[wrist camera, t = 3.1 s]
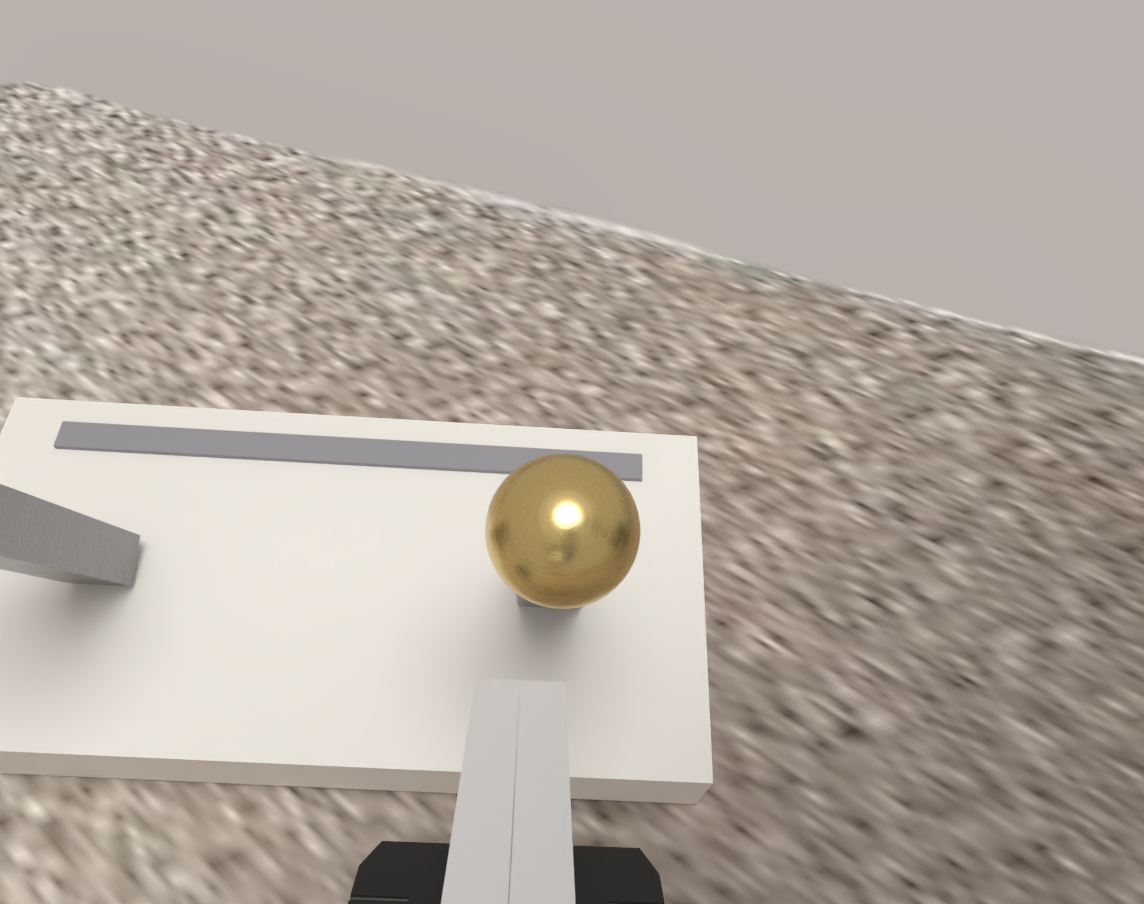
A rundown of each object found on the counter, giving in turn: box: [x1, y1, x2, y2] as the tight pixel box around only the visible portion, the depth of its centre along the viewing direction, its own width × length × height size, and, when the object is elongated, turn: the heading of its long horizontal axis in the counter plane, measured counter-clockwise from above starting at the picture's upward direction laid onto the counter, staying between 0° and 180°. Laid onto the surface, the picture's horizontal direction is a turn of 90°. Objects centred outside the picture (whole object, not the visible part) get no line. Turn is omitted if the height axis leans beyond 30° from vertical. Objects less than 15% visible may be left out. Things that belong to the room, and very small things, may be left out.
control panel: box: [0, 397, 713, 804], centre depth 31 cm, size 12×24×3 cm, turn 88°
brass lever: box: [485, 453, 641, 609], centre depth 24 cm, size 3×3×12 cm
